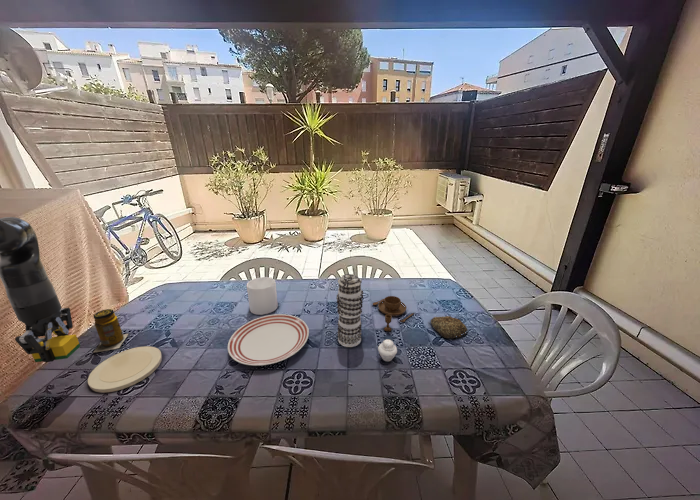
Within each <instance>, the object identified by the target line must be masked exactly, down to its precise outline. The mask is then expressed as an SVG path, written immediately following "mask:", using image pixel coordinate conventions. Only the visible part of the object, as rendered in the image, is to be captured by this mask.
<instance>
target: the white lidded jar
mask: <svg viewBox="0 0 700 500" xmlns="http://www.w3.org/2000/svg"><path fill="white" fill-rule="evenodd" d="M377 350H378V354H379V356H380V357H381V359H382V360H383V361H384V362H391V361H392V360H393V359H394V358H395V357H396V355H397V353H398V347H397V346H396V345H395V343H394V342H393V340H392V339H388V338H387V339H384V340H383V341H382V342H381V343H379V345H378V347H377Z"/></svg>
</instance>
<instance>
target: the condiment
mask: <svg viewBox="0 0 700 500" xmlns="http://www.w3.org/2000/svg"><path fill="white" fill-rule="evenodd" d="M93 319H94V327H95V329H96V332H97V335H98V338H99V341H100V343H99V344H98V345H97V347H96V348H95V349H94V350H93V352H92V353H100V352H107V351H110V350H117V349H120V347H122V345H123V343H124V341H125V340H126V339H127V337H128V336H129V333H125V334H123V330H122V328H121V324H120V322H119V319H118V316H117V315H116V314H115V311H114V309H111V308H106V309H102V310H99V311H97V312H96V313H94V314H93Z"/></svg>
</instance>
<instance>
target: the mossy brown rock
mask: <svg viewBox="0 0 700 500" xmlns="http://www.w3.org/2000/svg"><path fill="white" fill-rule="evenodd" d="M430 324H431V328H433V329H434V330H435V332H437V333H438V334H439V335H440V336H442V337H443V338H445V339H459V338H461V337H463V336H464V335H466V334H467V333H468V328H467V326H466V325H465V323H464V322H463V321H462V320H461V319H459V318H457V317H452V316H450V315H446V316H434V317H432V319H431V320H430ZM466 331H467V332H466ZM465 332H466V333H465ZM463 333H464V334H463ZM461 334H463V335H461ZM456 336H457V337H456Z"/></svg>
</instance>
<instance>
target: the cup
mask: <svg viewBox="0 0 700 500" xmlns="http://www.w3.org/2000/svg"><path fill="white" fill-rule="evenodd" d="M246 291H247V299H248V307H249V312H251V314H253V315H258V316H265V315H269V314H271V313H273V312H275V311H276V310H277V309H278V306H279V304H278V303H279V302H278V293H277V283H276V279H274V278H273V277H269V276H261V277H256V278H253V279H251V280H249V281H248V282H247V283H246Z"/></svg>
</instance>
